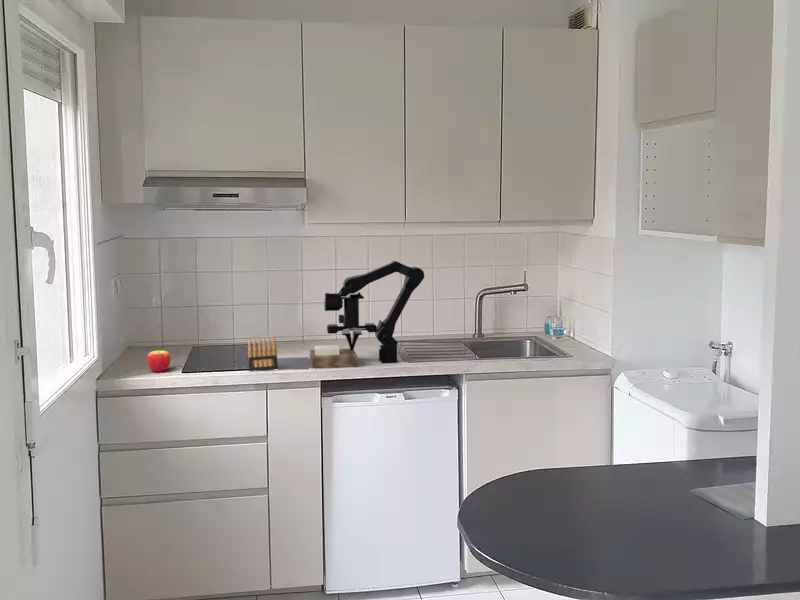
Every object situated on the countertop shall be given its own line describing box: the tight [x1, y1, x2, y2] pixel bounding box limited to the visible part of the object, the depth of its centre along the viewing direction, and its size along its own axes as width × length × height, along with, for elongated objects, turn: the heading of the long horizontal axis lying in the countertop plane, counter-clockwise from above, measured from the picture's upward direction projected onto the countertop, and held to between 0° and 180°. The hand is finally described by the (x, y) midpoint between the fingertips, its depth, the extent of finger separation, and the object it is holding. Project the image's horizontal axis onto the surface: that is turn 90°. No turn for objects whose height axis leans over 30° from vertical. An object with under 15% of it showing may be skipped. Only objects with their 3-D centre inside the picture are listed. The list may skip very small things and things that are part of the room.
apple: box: [146, 343, 171, 373], centre depth 301 cm, size 8×8×10 cm
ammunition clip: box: [247, 336, 278, 372], centre depth 302 cm, size 11×2×12 cm, turn 99°
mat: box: [277, 356, 312, 370], centre depth 313 cm, size 14×20×1 cm
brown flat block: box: [309, 348, 359, 369], centre depth 314 cm, size 17×16×4 cm
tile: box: [313, 344, 340, 356], centre depth 313 cm, size 9×7×2 cm
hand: (351, 350), depth 315 cm, fingers closed
